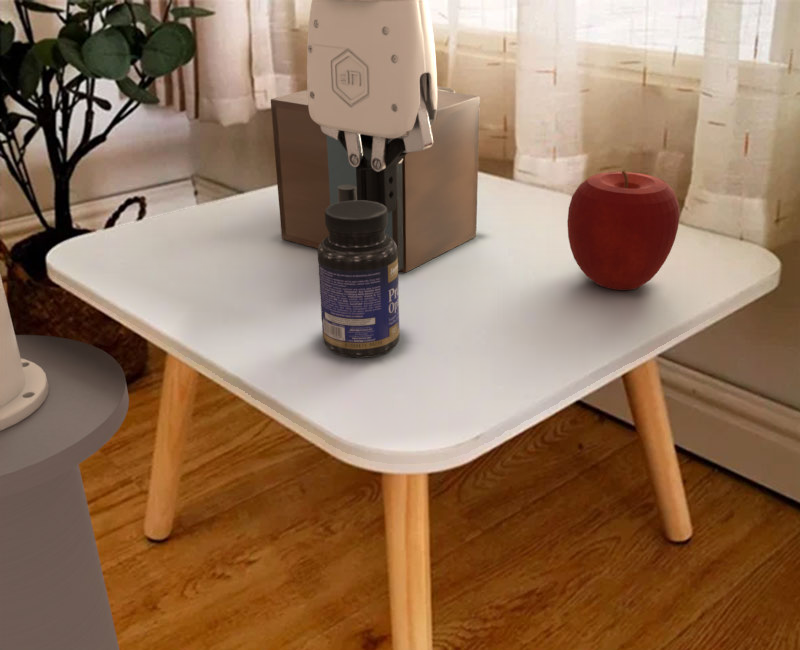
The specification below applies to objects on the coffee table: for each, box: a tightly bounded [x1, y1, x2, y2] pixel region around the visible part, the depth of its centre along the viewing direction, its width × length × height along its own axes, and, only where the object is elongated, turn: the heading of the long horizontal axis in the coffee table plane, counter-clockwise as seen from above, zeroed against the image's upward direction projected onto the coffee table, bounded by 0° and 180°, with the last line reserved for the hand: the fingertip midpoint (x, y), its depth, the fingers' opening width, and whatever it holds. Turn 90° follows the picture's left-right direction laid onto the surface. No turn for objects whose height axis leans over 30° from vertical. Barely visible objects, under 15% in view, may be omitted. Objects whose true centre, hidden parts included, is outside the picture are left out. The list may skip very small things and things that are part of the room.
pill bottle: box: [317, 200, 400, 358], centre depth 73 cm, size 6×6×11 cm
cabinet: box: [270, 89, 481, 273], centre depth 93 cm, size 12×16×14 cm
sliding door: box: [327, 135, 403, 271], centre depth 84 cm, size 7×8×13 cm
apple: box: [567, 170, 681, 291], centre depth 83 cm, size 10×10×10 cm
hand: (377, 212), depth 79 cm, fingers closed
